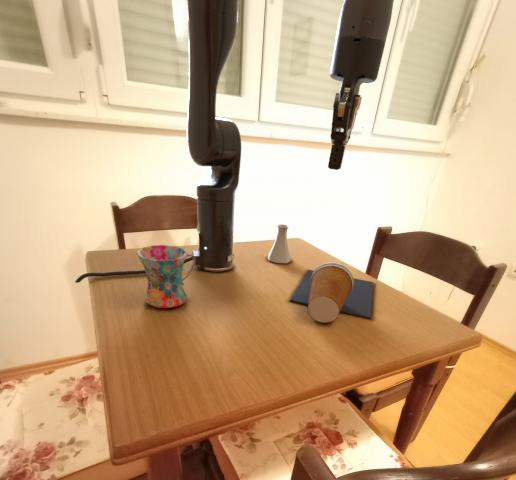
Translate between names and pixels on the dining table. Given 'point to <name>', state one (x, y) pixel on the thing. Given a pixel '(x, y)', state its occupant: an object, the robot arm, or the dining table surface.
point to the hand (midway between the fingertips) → (334, 168)
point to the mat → (354, 303)
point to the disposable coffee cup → (329, 291)
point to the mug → (164, 274)
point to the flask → (280, 247)
